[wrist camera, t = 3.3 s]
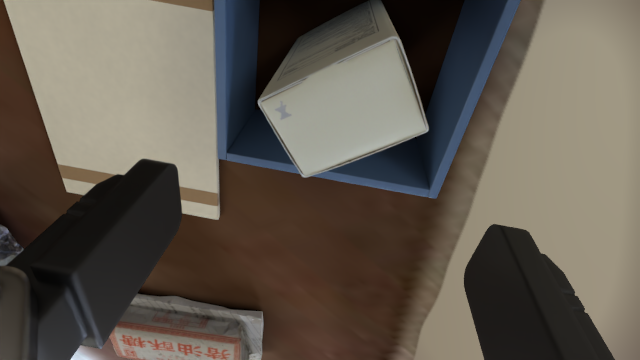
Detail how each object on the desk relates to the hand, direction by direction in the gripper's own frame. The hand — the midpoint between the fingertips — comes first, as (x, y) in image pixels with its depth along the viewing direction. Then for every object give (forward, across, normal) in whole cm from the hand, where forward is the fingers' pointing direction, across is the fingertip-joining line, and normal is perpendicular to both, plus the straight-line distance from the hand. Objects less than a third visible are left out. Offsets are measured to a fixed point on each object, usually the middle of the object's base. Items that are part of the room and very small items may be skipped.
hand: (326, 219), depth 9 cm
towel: (+18, +17, +7) cm, 26 cm away
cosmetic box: (+19, 0, 0) cm, 19 cm away
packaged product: (+19, +13, +37) cm, 44 cm away
